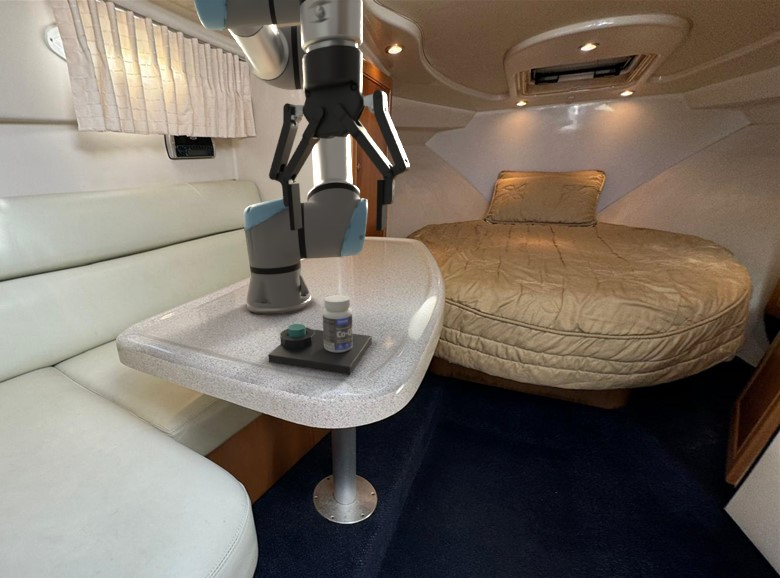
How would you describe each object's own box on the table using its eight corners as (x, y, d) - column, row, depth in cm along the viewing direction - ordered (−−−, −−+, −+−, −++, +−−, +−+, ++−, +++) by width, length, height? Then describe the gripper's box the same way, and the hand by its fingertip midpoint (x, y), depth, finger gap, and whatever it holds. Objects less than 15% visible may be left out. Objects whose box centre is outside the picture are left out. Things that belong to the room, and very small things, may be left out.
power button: (285, 337, 62) (284, 329, 61) (293, 331, 64) (292, 322, 64) (301, 339, 61) (300, 331, 60) (308, 332, 63) (308, 324, 62)
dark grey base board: (266, 361, 60) (264, 345, 59) (298, 334, 70) (296, 319, 68) (350, 375, 54) (349, 357, 53) (371, 343, 64) (372, 327, 63)
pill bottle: (340, 356, 57) (338, 304, 53) (318, 348, 60) (315, 299, 56) (358, 345, 60) (358, 296, 56) (336, 339, 63) (335, 292, 59)
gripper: (231, 62, 47) (253, 232, 57) (432, 19, 37) (417, 234, 47) (261, 73, 53) (276, 225, 63) (440, 38, 43) (426, 225, 53)
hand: (336, 229), depth 55 cm, fingers open, 13 cm apart
